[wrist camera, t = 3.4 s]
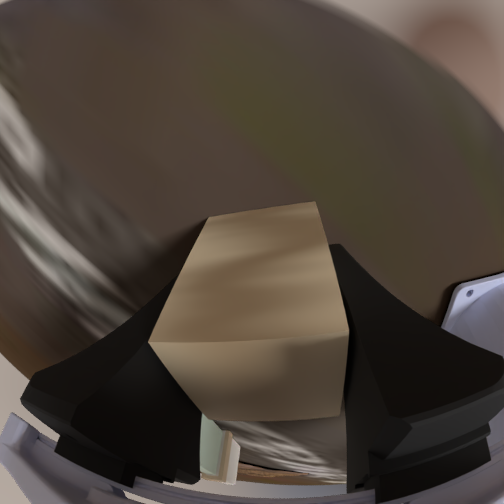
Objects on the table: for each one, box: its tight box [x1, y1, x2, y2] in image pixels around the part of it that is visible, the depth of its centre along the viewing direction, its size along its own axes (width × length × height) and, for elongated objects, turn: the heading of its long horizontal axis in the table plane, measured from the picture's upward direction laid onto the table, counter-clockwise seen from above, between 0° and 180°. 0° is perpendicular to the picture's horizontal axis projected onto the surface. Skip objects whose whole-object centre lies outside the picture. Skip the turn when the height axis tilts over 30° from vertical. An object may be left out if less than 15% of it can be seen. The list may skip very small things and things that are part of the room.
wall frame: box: [201, 430, 240, 485], centre depth 18 cm, size 2×21×6 cm, turn 12°
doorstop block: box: [148, 201, 349, 421], centre depth 8 cm, size 4×4×6 cm
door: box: [200, 413, 223, 475], centre depth 17 cm, size 2×10×5 cm, turn 12°
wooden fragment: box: [237, 462, 309, 477], centre depth 33 cm, size 26×11×1 cm, turn 63°
